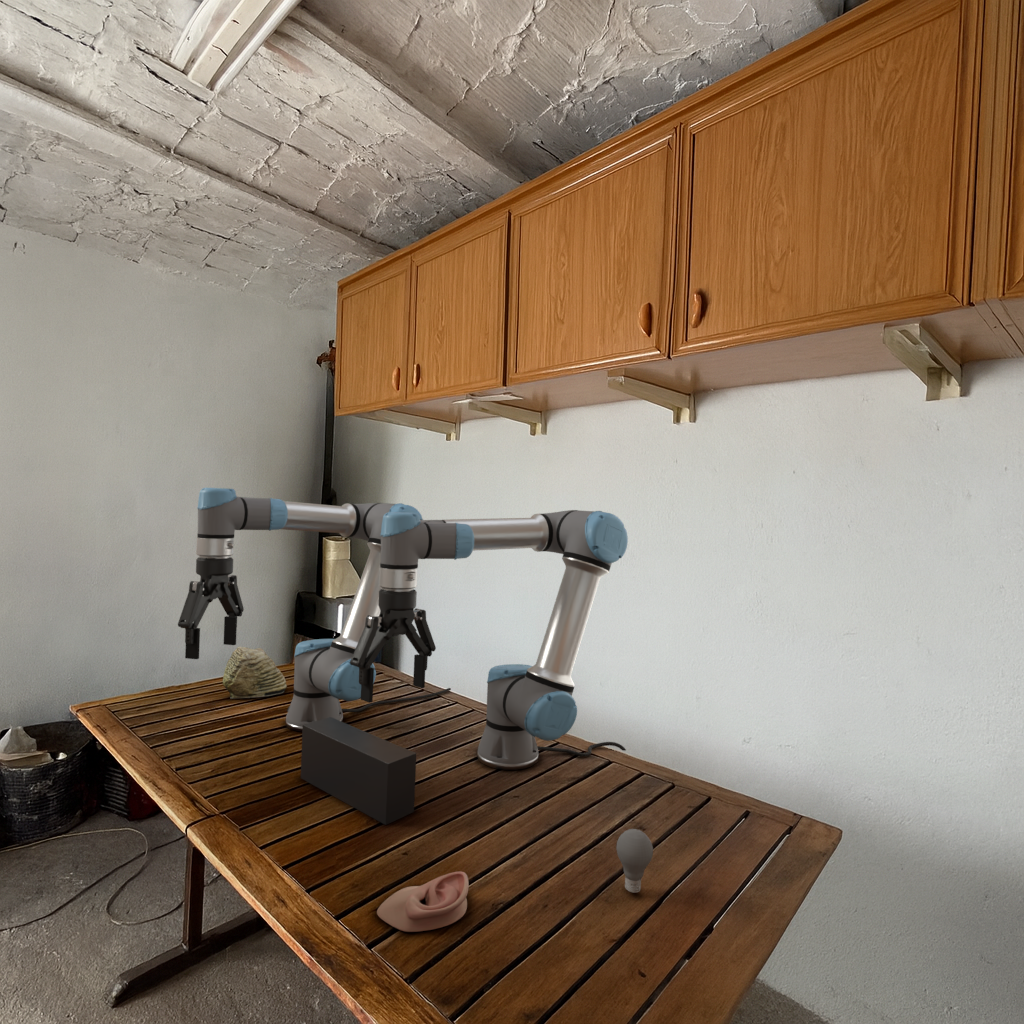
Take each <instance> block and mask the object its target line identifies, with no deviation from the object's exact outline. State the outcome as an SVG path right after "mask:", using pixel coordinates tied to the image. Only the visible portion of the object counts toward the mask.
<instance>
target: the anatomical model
mask: <svg viewBox="0 0 1024 1024" xmlns="http://www.w3.org/2000/svg"><path fill="white" fill-rule="evenodd" d="M469 884H470V883H469V877H468V875H467V873H466V872H464V871H454V872H449V873H446V874H443V875H440V876H437V877H436V878H434V879H432V880H430V881H428V882H426V883H424V884H421V885H413V886H406V887H403V888H401V889H400V890H399V889H398V890H397V891H395V892H394V893H392V894H391V895H390V896H389V897H388V898H386V899H385V900H384V901H383V902H382V903H381V904H380V905H379V906H378V908H377V910H376V915H377V916H378V917H379V919H381V921H383V922H385V923H386V924H388V925H389V926H391V927H393V928H394V929H396V930H399V931H402V932H405V933H417V932H423V931H431V930H436V929H440V928H443V927H447V926H450V925H452V924H454V923H456V922H457V921H459V920H460V919H462V918H463V917H464V915H465V914H466V912H467V908H468V899H467V896H468V893H469V888H470V887H469V886H470V885H469Z"/></svg>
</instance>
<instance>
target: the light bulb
mask: <svg viewBox="0 0 1024 1024" xmlns="http://www.w3.org/2000/svg"><path fill="white" fill-rule="evenodd" d="M615 849H616V854H617V857H618V859H619V861H620V863H621V865H622V867H623V873H624V874H623V875H624V876H625V878H624V888H625V890H627V891H628V892H630V893H634V894H635V893H639V892H640V891H641V889H642V887H641V886H642V879H643V877H644V875H645V871H646V868H647V867H648V866H649V864H650V863H651V861H652V859H653V855H654V847H653V843H652V841H651V838H649V836H648V835H647V834H646V833H645V832H643V831H642V830H641V829H636V828H629V829H627V830H625V831H623V832H622V833H621V834H620V835H619V837H618V839H617V841H616V847H615Z"/></svg>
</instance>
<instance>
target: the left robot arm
mask: <svg viewBox="0 0 1024 1024" xmlns="http://www.w3.org/2000/svg"><path fill="white" fill-rule="evenodd" d="M197 502H198V503H197V535H196V550H195V551H196V552H195V554H196V555H197V556H198V557H197V558H196V559H195V560H196V561H195V573H196V574H197V575H199V576H200V578H199V581H195V580H190V582H189V585H188V586H189V587H188V593H187V596H186V598H185V602H184V605H183V608H182V610H181V614H180V616H179V620H178V622H177V627H179V628H181V629H184V631H185V634H184V638H185V639H184V643H185V649H184V650H185V652H184V653H185V654H184V658H185V659H187V660H189V659H190V660H199V659H200V642H201V640H200V639H201V628H200V627H198V626H199V624H200V623H201V621H202V619H203V616H204V615H205V613H206V610H207V608H208V606H209V604H210V603H212V602H213V601H214V600H217V599H218V601H219V603H220V604H221V606H222V609H223V610H224V612H225V614H226V616H224V617H223V618H224V619H223V620H224V622H223V623H224V624H223V645H225V646H236V645H237V631H238V629H237V628H238V617H242V616H243V612H244V610H245V609H244V608H245V607H244V605H243V601H242V596H241V594H240V593H241V592H240V590H239V586H238V576H237V575H235V574H233V573H234V558H233V557H232V556H233V555H234V546H235V543H234V541H235V531H277V530H284V531H285V530H286V531H299V532H300V531H301V532H317V533H318V532H319V533H330V534H331V533H332V534H334V533H335V534H339V535H340V536H341V537H342V538H343V537H344V538H354V539H359V540H362V541H363V540H364V541H366V542H367V544H366V545H367V547H368V549H369V550H370V551H369V554H368V557H367V559H366V562H365V566H364V568H363V571H362V574H361V577H360V580H359V582H358V585H357V588H356V591H355V593H354V596H353V600H352V602H351V605H350V608H349V609H348V610H349V611H348V612H347V616H346V618H345V622H344V625H343V627H342V630H341V633H340V635H339V636H338V637H336V638H319V639H308V640H303V641H300V642H299V643H298V642H297V644H296V646H295V650H294V655H293V657H294V672H293V695H292V696H293V697H292V699H291V702H290V704H289V706H288V707H287V710H286V712H287V713H286V715H285V726H286V728H287V729H289V730H291V731H294V732H295V731H296V732H301V733H302V729H303V725H304V724H308V723H311V722H315V721H318V720H322V719H325V718H329V717H332V718H334V719H336V720H339V721H341V722H344V714H343V713H358V712H362V711H364V710H366V709H368V708H370V707H374V706H378V705H379V706H380V705H385V704H392V703H400V702H406V701H407V702H408V701H415V700H422V699H426V698H431V697H435V696H438V695H443V694H445V693H447V692H449V691H451V687H448V688H445V689H442V690H440V691H436V692H432V693H427V694H422V695H417V696H410V697H403V698H402V697H401V698H396V699H389V700H380V701H374V702H370V703H368V704H366V705H364V706H362V707H359V708H342V706H341V702H340V700H342V701H345V702H353V701H357V700H359V699H361V684H359V667H357V666H354V665H351V664H350V661H351V658H352V656H353V654H354V651H355V649H356V647H357V644H358V642H359V639H360V637H361V635H362V632H363V630H364V628H365V622H366V617H367V616H368V615H371V616H379V614H380V608H379V606H378V602H379V591H380V589H382V587H380V586H379V576H380V562H381V528H382V520H383V516H384V515H385V514H386V513H388V512H403V513H417V514H419V516H420V519H422V520H424V519H423V515H422V514H421V512H420V511H419V510H418V509H417V508H416V507H414V506H413V505H409V504H404V503H389V502H369V503H348V502H347V503H343V504H342V505H330V504H320V503H311V502H301V501H300V502H299V501H287V500H283V499H281V498H272V497H250V496H249V497H248V496H237V492H236V490H235V488H225V487H202V488H201V489H200V490H199V492H198V500H197ZM371 668H374V678H373V685H374V684H375V682H376V677H377V670H376V666H375V664H374V662H373V663H372V665H371Z"/></svg>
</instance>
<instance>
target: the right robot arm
mask: <svg viewBox="0 0 1024 1024" xmlns="http://www.w3.org/2000/svg"><path fill="white" fill-rule="evenodd" d="M422 519H423V518H422ZM422 519H420V516H419V514H417V513H403V512H388V513H386V514H385V515H384V516H383V520H382V528H381V562H380V576H379V586H380V587H382V589H380V591H379V602H378V606H379V608H380V614H379V616H371V615H368V616H367V617H366V622H365V628H364V630H363V632H362V635H361V637H360V639H359V642H358V644H357V647H356V649H355V651H354V654H353V656H352V658H351V661H350V664H351V665H354V666H357V667H359V684H361V697H360V700H361V701H363V702H367V703H368V704H371V703H374V701H373V700H374V699H373V697H374V684H373V678H374V668H371V665H372V663H373V664H374V662H375V660H376V658H377V657H378V655H379V654H380V652H381V651H382V649H383V648H384V646H385V644H386V643H387V641H389V640H390V639H391V638H392V637H397V636H400V635H401V636H403V635H405V637H406V638H407V639H408V641H409V642H410V644H411V645H412V647H413V648H414V650H415V651H416V652H417V654H414V656H413V658H414V659H413V681H412V686H413V687H417V688H420V689H425V688H426V685H425V684H426V671H427V670H428V661H429V660H428V659H429V658H428V657H431V656H432V655H433V652H435V651H436V650H437V647H436V644H435V641H434V638H433V635H432V632H431V629H430V627H429V624H428V621H427V611H426V610H425V609H421V608H417V594H418V592H417V590H416V588H417V586H418V569H419V560H455V561H456V560H458V559H459V560H461V559H467V558H469V557H470V556H471V555H472V553H473V551H493V550H494V551H495V550H516V549H517V550H519V549H532V550H533V551H534V552H537V553H539V552H541V553H542V552H549V553H555V554H561V555H562V557H561V559H562V562H563V563H564V565H565V569H564V572H563V576H562V579H561V582H560V585H559V588H558V591H557V595H556V598H555V601H554V605H553V607H552V610H551V614H550V617H549V619H548V620H549V621H548V623H547V627H546V630H545V633H544V636H543V638H542V639H543V640H542V643H541V646H540V649H539V652H538V656H537V659H536V662H535V663H534V665H530V664H524V663H521V664H520V663H511V664H508V663H507V664H499V665H495V666H493V667H491V668H490V669H489V670H488V675H487V681H486V683H487V689H486V691H487V692H486V718H485V719H486V720H485V727H484V730H483V733H482V734H481V738H480V741H479V744H478V747H477V752H476V753H477V754H476V755H477V760H478V761H479V762H480V763H482V764H483V765H484V766H487V767H489V768H493V769H498V770H505V771H517V770H524V769H529V768H530V767H533V766H534V765H536V764H537V763H538V761H539V751H543V752H544V751H545V752H555V753H557V752H558V753H565V754H568V755H573V756H576V757H581V758H585V757H589V756H591V755H592V753H593V752H592V750H593V749H596V748H601V747H609V746H611V747H616V748H619V749H620V750H621V751H627V749H626V748H625V746H623V745H622V744H620V743H618V742H614V741H604V742H599V743H594V744H591V745H589V746H588V748H587V751H586V752H579V751H576V750H572V749H567V748H561V747H551V746H539V745H538V743H537V740H536V738H537V739H540V740H542V741H547V742H551V741H556V740H558V739H560V738H561V737H563V736H565V735H567V733H568V732H569V731H570V730H571V729H572V728H573V725H574V724H575V722H576V720H577V715H578V706H577V704H576V700H575V698H574V697H573V693H574V689H575V686H576V685H575V682H574V681H573V678H572V674H573V670H574V667H575V663H576V659H577V656H578V654H579V650H580V646H581V643H582V640H583V638H584V634H585V631H586V627H587V624H588V621H589V617H590V614H591V610H592V607H593V603H594V600H595V597H596V594H597V591H598V587H599V585H600V580H601V578H603V577H604V576H606V575H608V574H609V573H610V570H611V567H612V564H613V563H615V562H618V561H619V560H620V559H622V557H623V556H624V555H625V553H626V551H627V549H628V542H629V537H628V532H627V529H626V528H625V524H624V522H623V521H622V520H621V519H620V518H619V517H618V516H617V515H615V514H614V513H611V512H605V511H602V510H578V509H570V510H561V511H554V512H546V513H534V514H532V515H531V516H530V517H509V518H508V517H507V518H502V517H499V518H457V519H456V518H455V519H454V518H453V519H423V520H422ZM413 622H414V624H415V626H414V624H413Z"/></svg>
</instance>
